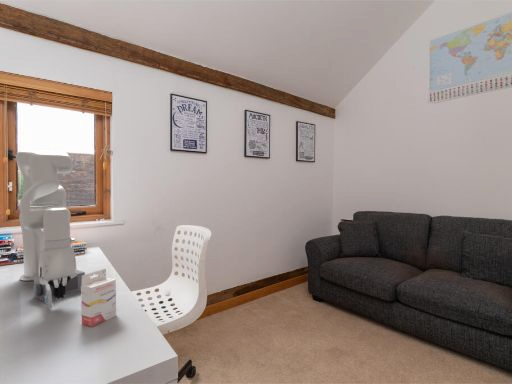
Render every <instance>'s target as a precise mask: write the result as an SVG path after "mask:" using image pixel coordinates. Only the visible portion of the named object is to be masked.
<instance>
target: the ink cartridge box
mask: <svg viewBox="0 0 512 384" xmlns="http://www.w3.org/2000/svg"><path fill="white" fill-rule="evenodd" d="M94 275H95V277H93V276H94ZM96 275H97V276H96ZM106 276H107V269H106V268H102V269H99V270H96V271H92V272H90V273H85V275H82V281H81V291H80V300H81V301H80V302H81V303H80V305H81V307H80V308H81V309H80V310H81V312H80V313H81V324H82V325H85V326H88V327H91V328H93V327H95V326H97V325H100V324H101V323H103V322H105V321H107V320H110V319H112V318H114V317H117V282H116V281H117V280H116V279H115V278H110V277H106Z"/></svg>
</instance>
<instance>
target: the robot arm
mask: <svg viewBox="0 0 512 384" xmlns="http://www.w3.org/2000/svg"><path fill="white" fill-rule="evenodd" d="M15 162H16V164H17V166H18V168H19V170H20V173H21V175H22V179H23V180H22V186H23V187H22V188H23V189H22V191H23V193H22V194H23V195H22V197H21V198H20V201H19V214H18V215H19V216H18V217H19V218H18V219H19V220H18V221H19V224H20V228H21V236H22V252H23V253H22V254H23V274H21V275H20V276H19V280H20V281H26V282H27V281H34V278H38V277H39V278H41V279H40V284H42V285H48V284H49V285H51V286H53V291H54V297H56V299H57V300H61V299H65V296H64V294H65V285H66V284H67V282H68V281H69V280H70V279H72V278H74V277H76V276H77V274H76V270H78V269H77V259H76V253H75V251H74V250H75V249H74V247H73V246H72V243H75V242H76V239H75V238H72V237H71V226H70V225H71V224H70V223H71V222H70V221H71V219H72V215H71V211H70V210H69V209H68V208H67V192H66V189H65V188H64V187H63V186H62V185H61V184H60V180H59V174H60V175H61V174H62V175H67V174H71V173H72V172H73V169H74V163H73V160H72V157H71V156H70V155H69V154H68V153H67V152H63V151H51V150H37V149H36V150H35V149H34V150H32V149H30V150H29V149H28V150H27V149H25V150H24V149H23V150H20V151H19V150H18V152H17V153H16V155H15ZM42 229H43V230H42ZM58 278H60V283H59V284H58V280H57V279H58Z"/></svg>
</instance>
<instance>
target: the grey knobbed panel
mask: <svg viewBox="0 0 512 384" xmlns="http://www.w3.org/2000/svg"><path fill="white" fill-rule="evenodd" d="M76 274H77V276H76V277H74V278H72V279H70V280H69V281H68V282H67V284H66V285H65V294H64V297H66V296H69V295H72V294H76V293H78V292H81V281H82V275H85V274H86V272H85V271H82V270H79V269H76ZM40 279H41V278H39V277H38V278H34V280H33V296H34V298H36V299H38V300H40V301H42V302H44V303H45V285H42V284H40ZM57 280H58V284H59V283H60V278H58V279H57ZM49 286H50V289H51V292H52V300H54V299H55V300H56V299H57V298H56V297H54V291H53V286H51V285H49Z"/></svg>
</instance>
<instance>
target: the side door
mask: <svg viewBox="0 0 512 384" xmlns="http://www.w3.org/2000/svg"><path fill="white" fill-rule="evenodd" d="M44 303H45V305H47V308H48V310H49V309H52V308H53V299H52V292H51V289H50V286H49V284H48V285H45V302H44Z"/></svg>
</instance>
